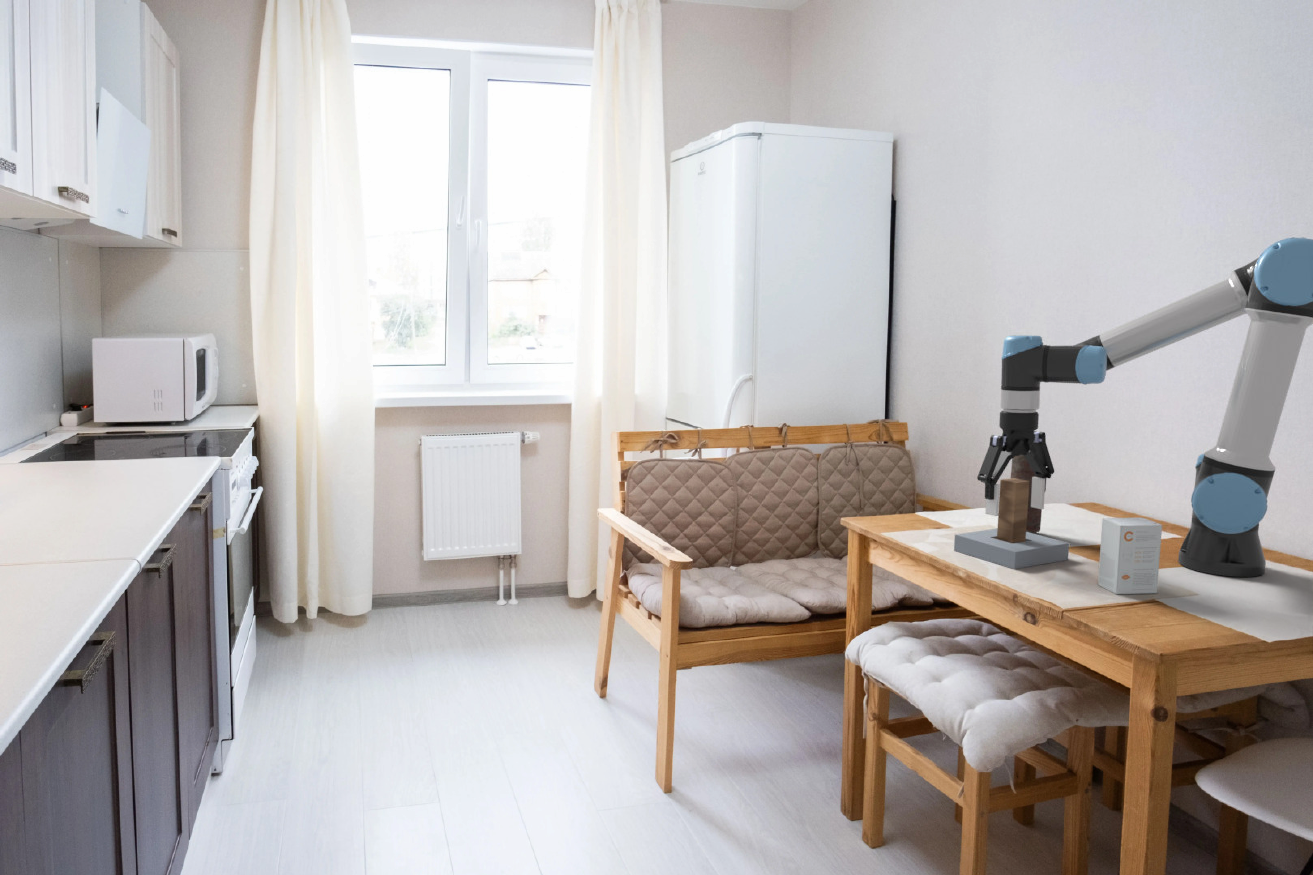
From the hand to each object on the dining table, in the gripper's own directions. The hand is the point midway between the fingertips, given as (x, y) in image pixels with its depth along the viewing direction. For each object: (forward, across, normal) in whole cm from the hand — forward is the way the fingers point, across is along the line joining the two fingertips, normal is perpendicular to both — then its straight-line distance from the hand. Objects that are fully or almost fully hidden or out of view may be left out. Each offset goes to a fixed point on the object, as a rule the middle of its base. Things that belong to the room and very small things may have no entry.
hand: (1014, 511), depth 197 cm
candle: (+10, -18, -12) cm, 24 cm away
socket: (+9, 0, 0) cm, 9 cm away
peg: (+9, 0, 0) cm, 9 cm away
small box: (+10, 0, +26) cm, 28 cm away
